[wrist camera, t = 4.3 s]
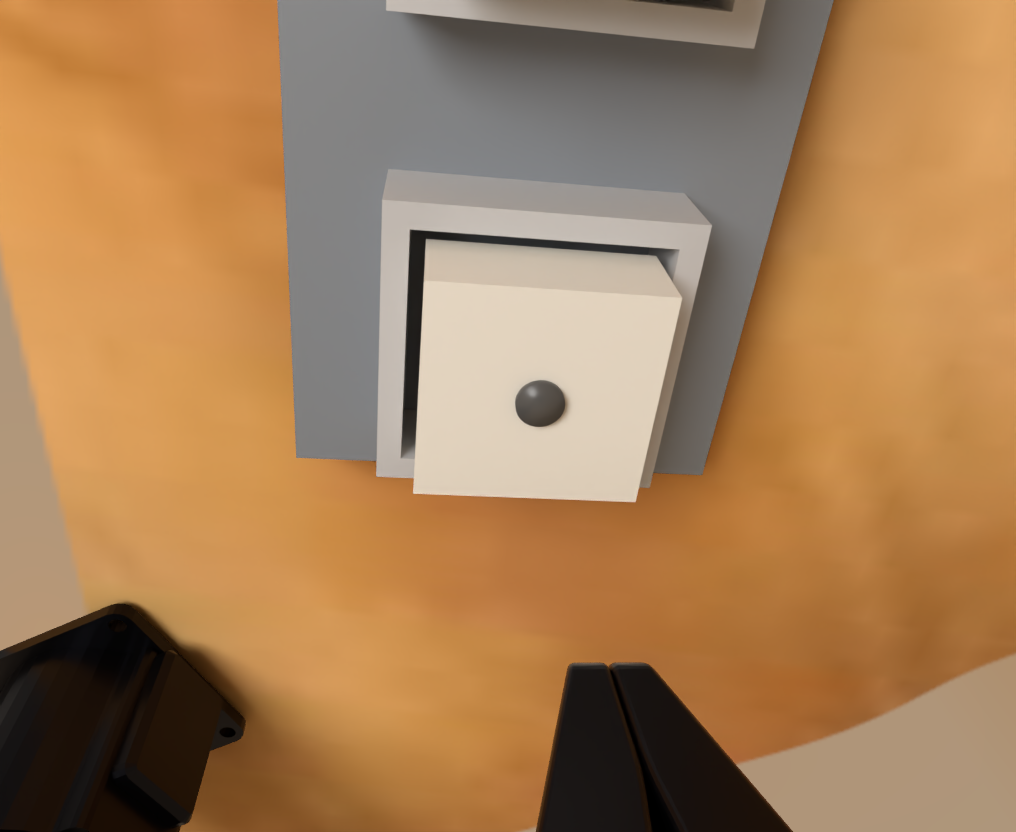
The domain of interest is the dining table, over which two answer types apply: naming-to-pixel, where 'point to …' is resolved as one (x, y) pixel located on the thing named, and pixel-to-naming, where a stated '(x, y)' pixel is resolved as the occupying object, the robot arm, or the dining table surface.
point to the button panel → (526, 180)
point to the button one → (539, 370)
